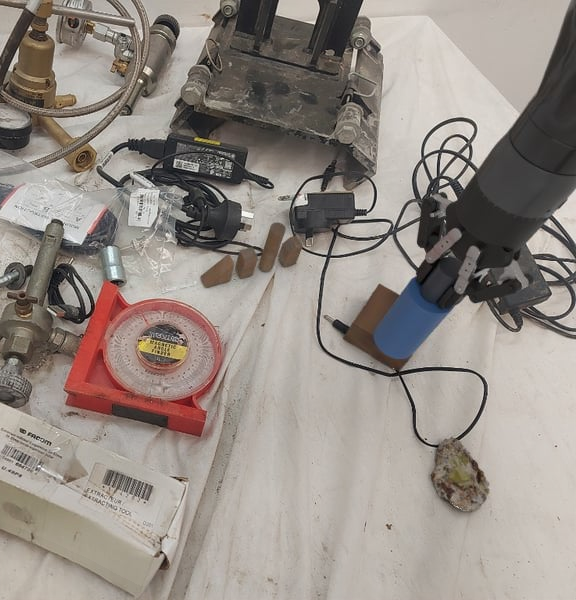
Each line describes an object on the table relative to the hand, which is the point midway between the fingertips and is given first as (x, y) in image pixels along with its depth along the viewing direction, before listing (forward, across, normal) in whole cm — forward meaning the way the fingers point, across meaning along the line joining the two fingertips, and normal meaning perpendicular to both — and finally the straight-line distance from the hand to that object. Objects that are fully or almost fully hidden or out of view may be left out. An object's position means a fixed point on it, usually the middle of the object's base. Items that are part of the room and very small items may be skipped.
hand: (433, 291), depth 66 cm
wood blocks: (+28, -28, -5) cm, 40 cm away
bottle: (+11, 0, 0) cm, 11 cm away
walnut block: (+28, -6, +11) cm, 31 cm away
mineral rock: (+28, +18, +5) cm, 33 cm away
